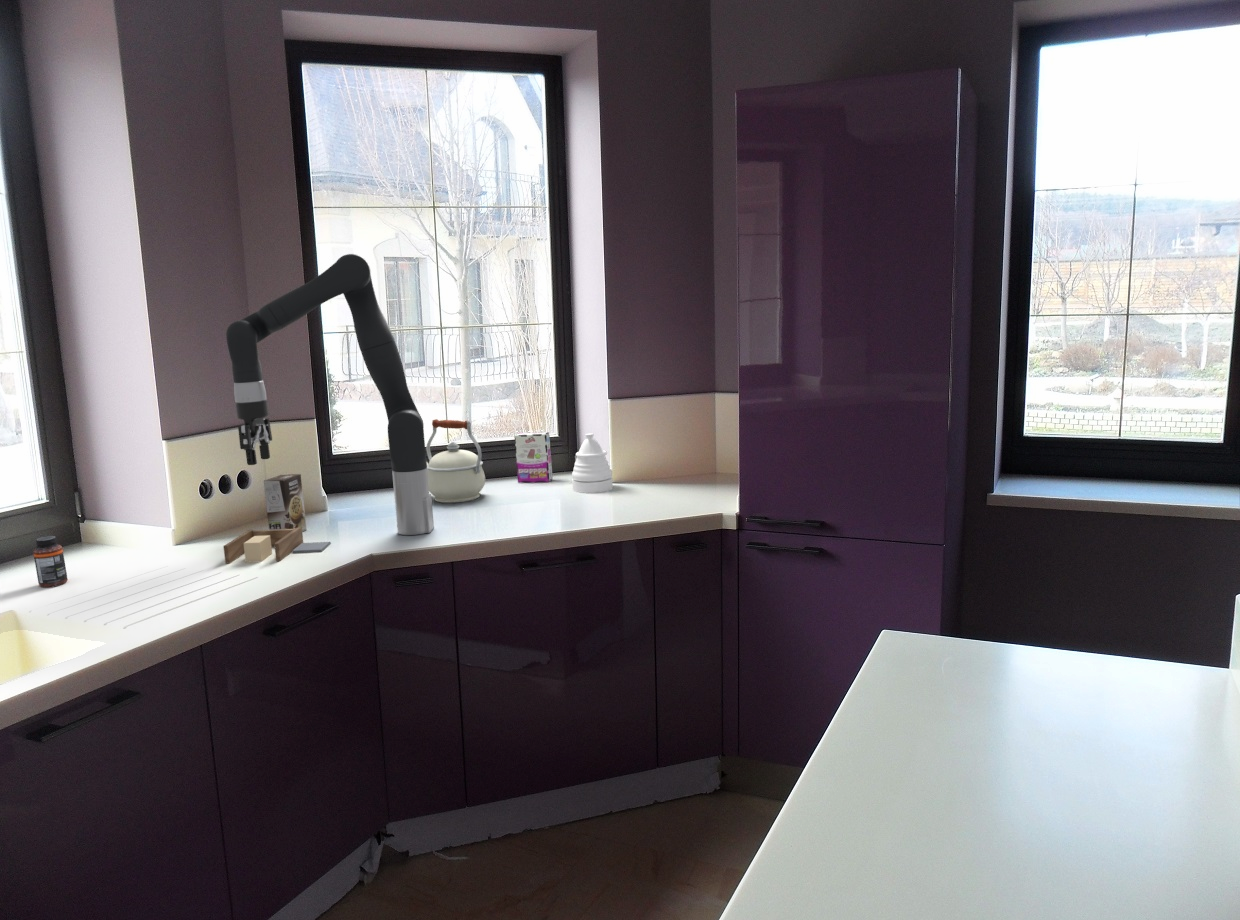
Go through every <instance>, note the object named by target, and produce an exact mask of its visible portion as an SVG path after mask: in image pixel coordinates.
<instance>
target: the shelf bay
mask: <svg viewBox="0 0 1240 920" xmlns="http://www.w3.org/2000/svg"><path fill="white" fill-rule="evenodd" d="M266 535H270V539H271V547H273V546H274V552H275V553H274V554H275V561H276V562H281V561H283V560H284V559H285V558H286V557H287V556H288V555H290V554H292V550H294V549H295V548H296V547H298V546H299V545H300V544H301V543H304V537H303V532H302V528H295V529H279V530H269V529H262V530H261V529H259V530H253V529H248V530H247V531H245V532H243V533H241V534H240V535H239V536H237V537H236V538H234V539H232V540H231V541H229V542H227V543H226V544H225V545H223V553H224V559H225V560H224V562H225V564H226V565H229V564H231V563H233V562H235V560H237V559H238V558H240V557H241V556H243V555H245V552H244V544H243V543H245V542H246V541H248V540H249V539H251V538H252V537H254V536H266Z"/></svg>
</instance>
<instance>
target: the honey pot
mask: <svg viewBox="0 0 1240 920" xmlns="http://www.w3.org/2000/svg"><path fill="white" fill-rule="evenodd" d="M585 438H586V439H584V440H583V442H582V443H581V445H580V448H579V451H577V452H576V453H575V456H576V460H575V462H574V467H573V471H572V472H571V481H572V491H573V492H576V493H580V494H581V493H582V494H596V493H605V492H608V491H611V490H613V487H614V484H613V472H612V470H611V469H610V468H611V467H610V466H611V465H609V461H608V460H607V458H606V455H607V454H608V452H607V451H606V450H604V449H603V448H602V447H601V445H600V443H599V442H598V441H597V440H596V438H594V433H585Z"/></svg>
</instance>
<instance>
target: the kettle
mask: <svg viewBox="0 0 1240 920" xmlns="http://www.w3.org/2000/svg"><path fill="white" fill-rule="evenodd" d="M431 425H432V426H431V427H432V434H431V435H430V437H429V439H428V441H427V443H426V446H425V451H426V454H427V455H426V456H427V458H428V460H429V462H428V461H427V474H428V485H429V494H431V496H432V495H433V497H434V498H433V499H434V501H436V502H438V503H445V504H451V503H452V504H453V503H454V504H456V503H457V504H458V503H465V502H466V503H467V502H470V501H474V500H476V499H479V497H480V496H481V494H480V492H481V491H482V490H483V489H484V487H485V485H486V475H485V472H484V469H483V467H482V465H483V464H484V462H483V461H482V448H481V446H480V444H479V442H478V441H477V439H476V438H475V437H474V435H473V434H472V428H471V426H472V424H471V421H470V420H465V421H463V420H454V419H453V420H452V419H444V420H443V419H441V420H439V419H437V418H436V419H432V423H431ZM438 428H442V429H456V430H459V429H464V430H466V431H467V434H468V437H469V438H470V440H471V441H472V443H473V444H474V446H475V447H476V449H477V450H476V451H477V454H476V453H474V452H472V451H470V450H466V449H459V448H460V445H459V444H458V443H456V442H454V441H452V442H451V443H449V444H448V445H447V446H446V448H447V450H445V451H444V450H443V451H441V452H439V453H436V454H435V455H433V456H432V453H431V445H432V441H433V440H434V438H435V436H436V434H437V429H438Z"/></svg>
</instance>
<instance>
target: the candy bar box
mask: <svg viewBox="0 0 1240 920" xmlns="http://www.w3.org/2000/svg"><path fill="white" fill-rule="evenodd" d="M550 438H551V437H550V432H548V431H547V432H546V431H544V432H521V433H520V432H519V433H516V434H515V435H514V445H515V461H516V473H517V474H516V475H517V483H521V484H522V483H526V484H527V483H550V482H551V481H552V480H553V467H552V455H551V454H552V453H551V452H552V451H551V440H550Z"/></svg>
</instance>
